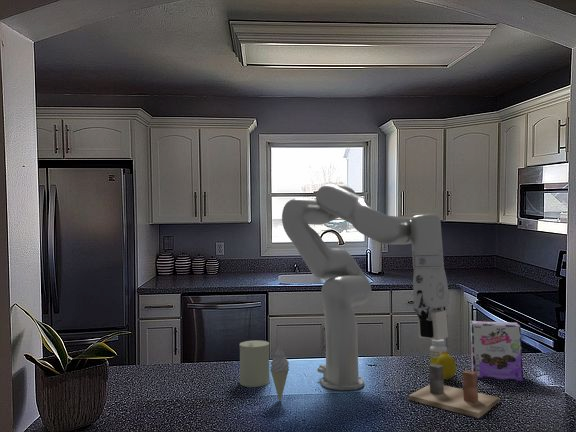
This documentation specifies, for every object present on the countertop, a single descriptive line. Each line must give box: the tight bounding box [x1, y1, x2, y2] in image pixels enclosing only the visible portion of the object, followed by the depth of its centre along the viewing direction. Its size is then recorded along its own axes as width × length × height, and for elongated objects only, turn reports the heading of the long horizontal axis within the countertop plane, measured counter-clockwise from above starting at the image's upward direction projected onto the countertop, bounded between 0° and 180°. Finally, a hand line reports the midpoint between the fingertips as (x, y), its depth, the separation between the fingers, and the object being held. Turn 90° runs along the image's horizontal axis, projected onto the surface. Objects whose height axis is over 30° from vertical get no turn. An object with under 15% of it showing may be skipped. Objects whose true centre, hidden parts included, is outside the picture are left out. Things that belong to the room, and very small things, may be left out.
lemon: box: [437, 353, 457, 381], centre depth 130 cm, size 6×6×8 cm
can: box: [238, 339, 271, 388], centre depth 131 cm, size 9×9×12 cm
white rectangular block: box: [416, 309, 449, 341], centre depth 108 cm, size 5×5×7 cm
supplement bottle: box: [429, 338, 449, 365], centre depth 140 cm, size 5×5×10 cm
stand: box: [408, 364, 500, 419], centre depth 112 cm, size 18×14×8 cm
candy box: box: [469, 320, 524, 382], centre depth 132 cm, size 14×6×16 cm, turn 71°
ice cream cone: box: [269, 343, 290, 401], centre depth 115 cm, size 5×5×15 cm
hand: (433, 334), depth 108 cm, fingers closed on white rectangular block, 5 cm apart
